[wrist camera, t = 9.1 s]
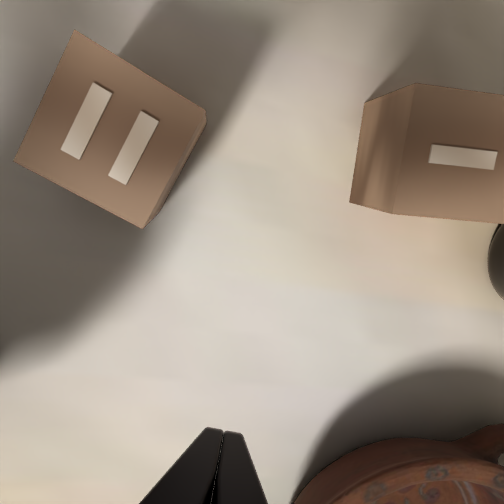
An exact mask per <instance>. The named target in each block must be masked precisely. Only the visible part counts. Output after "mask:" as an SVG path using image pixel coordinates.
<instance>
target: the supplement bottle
mask: <svg viewBox="0 0 504 504" xmlns="http://www.w3.org/2000/svg"><path fill="white" fill-rule="evenodd" d="M488 272H489V277H490V280H491V283H492V285H493V287H494V289H495V290H496V292H497V293H498V294H499V295H500V297H501V298H502V299H504V224H501V226H500V227H499V229H498V230H497V232H496V234H495V236H494V238H493V240H492V243H491V245H490V249H489V254H488Z"/></svg>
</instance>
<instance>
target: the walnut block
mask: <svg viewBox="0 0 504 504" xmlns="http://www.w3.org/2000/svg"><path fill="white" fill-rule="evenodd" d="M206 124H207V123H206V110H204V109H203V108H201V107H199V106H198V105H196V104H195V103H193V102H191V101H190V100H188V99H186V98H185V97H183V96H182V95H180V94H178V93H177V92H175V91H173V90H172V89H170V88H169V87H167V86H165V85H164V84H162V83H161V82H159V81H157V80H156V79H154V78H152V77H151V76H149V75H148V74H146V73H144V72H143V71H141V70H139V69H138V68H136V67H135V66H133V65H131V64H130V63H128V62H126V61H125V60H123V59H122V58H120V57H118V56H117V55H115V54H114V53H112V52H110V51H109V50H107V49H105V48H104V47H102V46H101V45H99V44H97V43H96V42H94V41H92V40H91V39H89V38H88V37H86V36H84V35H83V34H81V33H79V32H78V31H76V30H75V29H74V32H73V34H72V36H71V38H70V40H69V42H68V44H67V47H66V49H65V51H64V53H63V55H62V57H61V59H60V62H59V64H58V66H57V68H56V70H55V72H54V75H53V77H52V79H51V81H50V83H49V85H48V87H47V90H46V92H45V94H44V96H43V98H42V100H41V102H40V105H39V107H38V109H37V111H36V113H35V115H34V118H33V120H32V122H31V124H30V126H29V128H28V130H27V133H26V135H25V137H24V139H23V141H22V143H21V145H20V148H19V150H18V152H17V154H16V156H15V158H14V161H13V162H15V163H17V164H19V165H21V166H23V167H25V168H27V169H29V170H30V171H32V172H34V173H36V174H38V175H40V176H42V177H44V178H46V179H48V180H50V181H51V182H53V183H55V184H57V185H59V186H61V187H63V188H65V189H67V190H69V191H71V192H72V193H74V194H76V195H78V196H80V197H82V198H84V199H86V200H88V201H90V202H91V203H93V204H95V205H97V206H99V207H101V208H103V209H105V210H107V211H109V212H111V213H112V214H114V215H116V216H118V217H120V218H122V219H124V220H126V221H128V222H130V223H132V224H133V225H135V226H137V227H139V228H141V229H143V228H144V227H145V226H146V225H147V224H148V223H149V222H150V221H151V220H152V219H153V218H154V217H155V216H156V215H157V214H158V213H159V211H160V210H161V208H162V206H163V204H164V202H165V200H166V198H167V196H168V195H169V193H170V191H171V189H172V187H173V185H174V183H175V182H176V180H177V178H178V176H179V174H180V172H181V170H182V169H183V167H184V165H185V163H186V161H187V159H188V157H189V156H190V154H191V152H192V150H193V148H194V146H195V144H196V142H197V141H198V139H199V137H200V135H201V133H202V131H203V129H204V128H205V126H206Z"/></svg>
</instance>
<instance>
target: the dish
mask: <svg viewBox="0 0 504 504" xmlns="http://www.w3.org/2000/svg"><path fill="white" fill-rule="evenodd" d="M503 452H504V424H497V425H495V424H494V425H488V426H486V427H484V428H482V429H479V430H477V431H475V432H473V433H471V434H469V435H467V436H464V437H462V438H460V439H457V440H455V441H449V442H445V441H437V440H430V439H423V438H393V439H388V440H383V441H379V442H375V443H372V444H369V445H366V446H363V447H361V448H358V449H356V450H354V451H352V452H350V453H348V454H346V455H344V456H342V457H341V458H339V459H338V460H336V461H335V462H333V463H332V464H330V465H329V466H327V467H326V468H324V469H323V470H322V471H321V472H320V473H319V474H317V475H316V476H315V477H314V478H313V479H312V480H311V481H310V482H309V483H308V484H307V486H306V487H305V488H304V489H303V490H302V491H301V493H300V494H299V496H298V497H297V499H296V500H295V502H294V504H504V467H503V466H501V465H499V464H498V460H497V459H498V457H499V456H500V455H501V453H503Z"/></svg>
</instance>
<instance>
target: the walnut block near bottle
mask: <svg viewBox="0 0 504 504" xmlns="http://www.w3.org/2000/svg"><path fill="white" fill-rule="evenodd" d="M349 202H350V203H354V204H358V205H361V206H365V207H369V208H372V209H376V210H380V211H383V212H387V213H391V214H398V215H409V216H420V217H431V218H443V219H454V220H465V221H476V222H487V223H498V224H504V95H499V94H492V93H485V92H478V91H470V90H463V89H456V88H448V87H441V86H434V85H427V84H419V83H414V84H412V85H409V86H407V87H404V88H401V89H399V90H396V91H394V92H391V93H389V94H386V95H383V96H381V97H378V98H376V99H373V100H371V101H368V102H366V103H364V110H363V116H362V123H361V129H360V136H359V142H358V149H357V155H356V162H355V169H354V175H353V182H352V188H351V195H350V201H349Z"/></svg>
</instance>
